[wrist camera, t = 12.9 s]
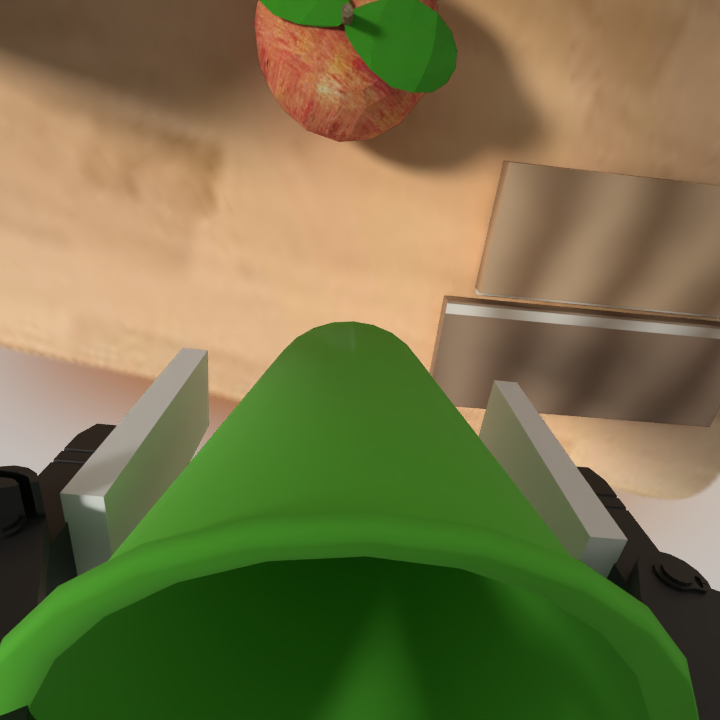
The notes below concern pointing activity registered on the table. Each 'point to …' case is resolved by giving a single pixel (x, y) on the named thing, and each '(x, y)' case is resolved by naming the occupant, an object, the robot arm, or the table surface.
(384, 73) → the fruit
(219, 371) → the table surface
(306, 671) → the cup
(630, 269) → the plank
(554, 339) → the floorboard
